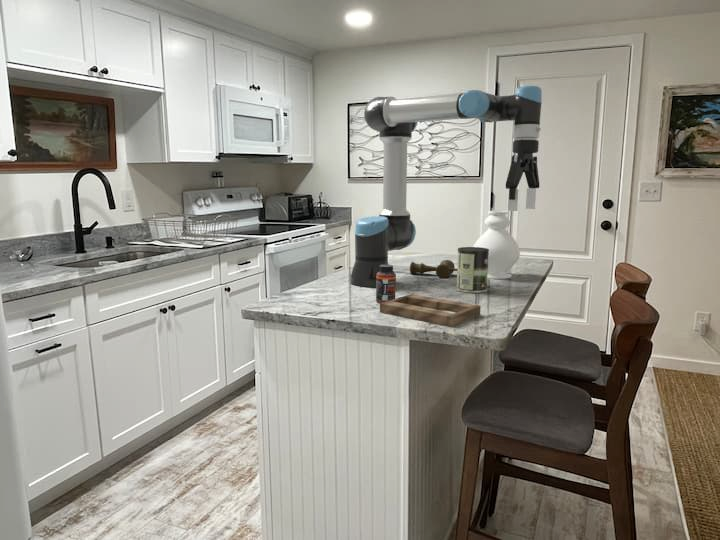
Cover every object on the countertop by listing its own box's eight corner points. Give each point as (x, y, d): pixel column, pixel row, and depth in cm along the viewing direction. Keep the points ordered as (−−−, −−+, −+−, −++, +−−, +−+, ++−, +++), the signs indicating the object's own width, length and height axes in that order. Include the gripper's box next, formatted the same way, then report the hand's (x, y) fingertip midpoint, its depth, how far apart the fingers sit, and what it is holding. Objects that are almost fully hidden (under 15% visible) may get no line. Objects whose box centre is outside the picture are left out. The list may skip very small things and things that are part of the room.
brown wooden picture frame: (379, 311, 149) (379, 303, 149) (411, 301, 162) (411, 293, 161) (451, 326, 135) (452, 317, 135) (480, 314, 148) (480, 305, 147)
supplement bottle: (389, 305, 158) (390, 267, 156) (372, 302, 161) (372, 265, 159) (398, 301, 163) (399, 264, 161) (382, 298, 166) (382, 263, 164)
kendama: (413, 273, 213) (463, 275, 206) (407, 278, 204) (459, 280, 197) (413, 258, 212) (463, 260, 205) (407, 262, 203) (459, 264, 196)
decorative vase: (490, 281, 193) (493, 213, 189) (462, 273, 209) (464, 210, 205) (528, 278, 200) (532, 212, 196) (498, 270, 216) (501, 209, 212)
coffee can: (486, 287, 183) (488, 247, 181) (487, 293, 174) (489, 251, 171) (456, 286, 185) (458, 246, 183) (455, 292, 176) (457, 250, 173)
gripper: (521, 136, 149) (516, 212, 153) (552, 141, 168) (548, 208, 172) (496, 137, 154) (492, 210, 158) (530, 142, 173) (525, 207, 177)
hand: (521, 209), depth 165 cm, fingers open, 13 cm apart
